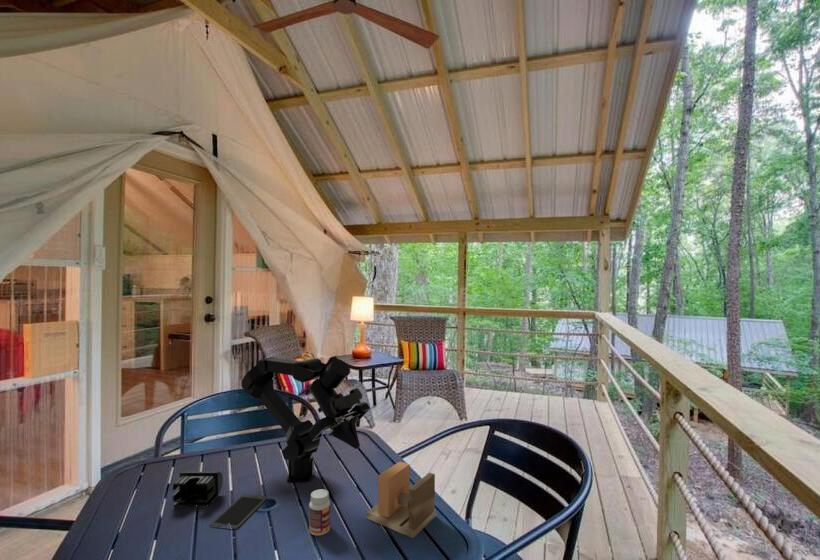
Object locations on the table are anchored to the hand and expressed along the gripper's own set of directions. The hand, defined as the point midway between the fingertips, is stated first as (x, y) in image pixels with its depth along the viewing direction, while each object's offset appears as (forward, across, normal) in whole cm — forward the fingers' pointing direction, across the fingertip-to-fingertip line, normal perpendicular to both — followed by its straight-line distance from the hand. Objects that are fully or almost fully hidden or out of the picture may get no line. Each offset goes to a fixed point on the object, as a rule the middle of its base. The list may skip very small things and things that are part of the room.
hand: (358, 447), depth 107 cm
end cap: (-15, -23, +34) cm, 44 cm away
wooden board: (+17, 0, 0) cm, 17 cm away
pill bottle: (+10, -14, +9) cm, 20 cm away
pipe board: (+19, 0, 0) cm, 19 cm away
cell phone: (-5, -20, +25) cm, 32 cm away
